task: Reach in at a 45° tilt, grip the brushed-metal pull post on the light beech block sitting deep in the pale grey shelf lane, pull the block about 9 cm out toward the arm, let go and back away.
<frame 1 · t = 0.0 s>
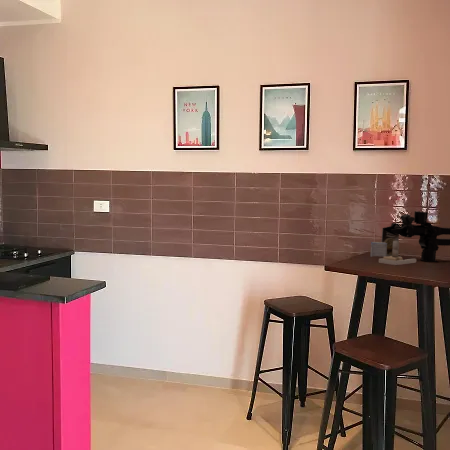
hand: (387, 229, 281), 17 cm above the table, tool horizontal, fingers open, 9 cm apart
handle block: (393, 252, 264), point 7 cm above the table, slide at 0.0 cm
shelf lane: (397, 265, 267), on the table
medicine box: (378, 258, 291), on the table
coffee box: (388, 256, 300), on the table
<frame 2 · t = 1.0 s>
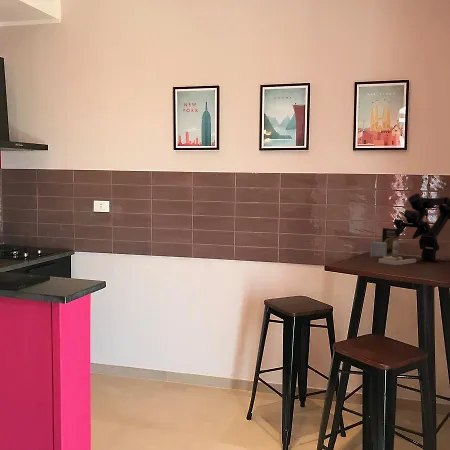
hand: (404, 237, 270), 14 cm above the table, tool tilted 45°, fingers open, 9 cm apart
nothing on the table moved.
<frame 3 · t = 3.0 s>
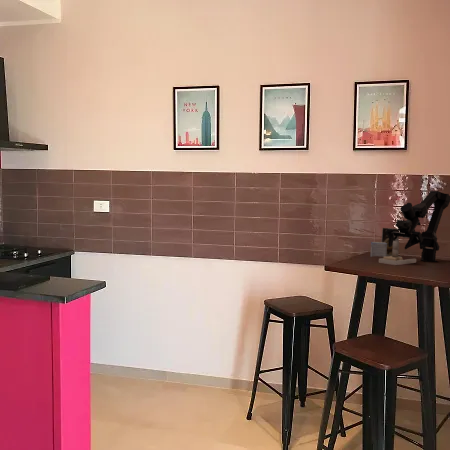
hand: (396, 247, 265), 9 cm above the table, tool tilted 45°, fingers open, 9 cm apart
nothing on the table moved.
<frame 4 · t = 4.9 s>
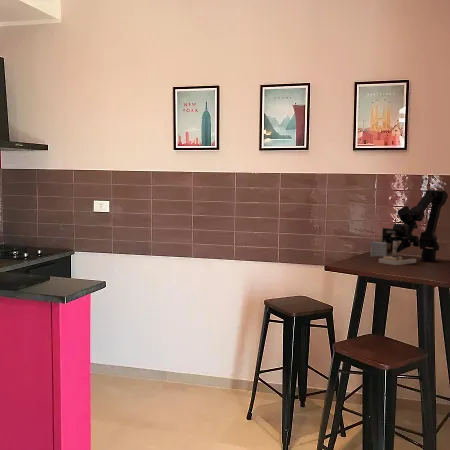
hand: (393, 251, 264), 7 cm above the table, tool tilted 45°, fingers closed on handle block, 3 cm apart
handle block: (393, 252, 264), point 7 cm above the table, slide at 0.0 cm, touching gripper
everything else where it was.
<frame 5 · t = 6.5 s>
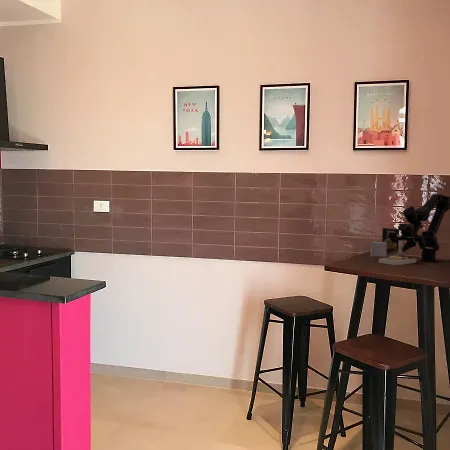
hand: (399, 251, 267), 7 cm above the table, tool tilted 45°, fingers closed on handle block, 3 cm apart
handle block: (398, 251, 267), point 7 cm above the table, slide at 5.1 cm, touching gripper
everything else where it was.
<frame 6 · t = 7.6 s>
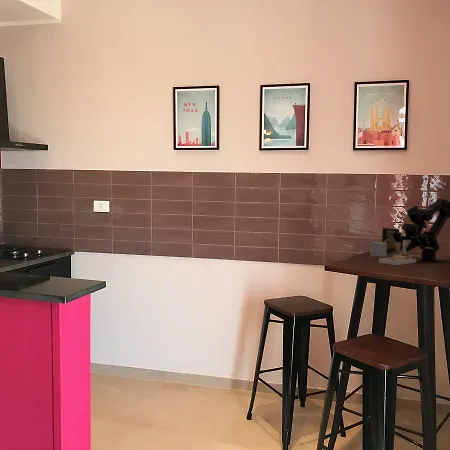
hand: (403, 250, 270), 7 cm above the table, tool tilted 45°, fingers closed on handle block, 3 cm apart
handle block: (403, 251, 269), point 7 cm above the table, slide at 9.0 cm, touching gripper
everything else where it was.
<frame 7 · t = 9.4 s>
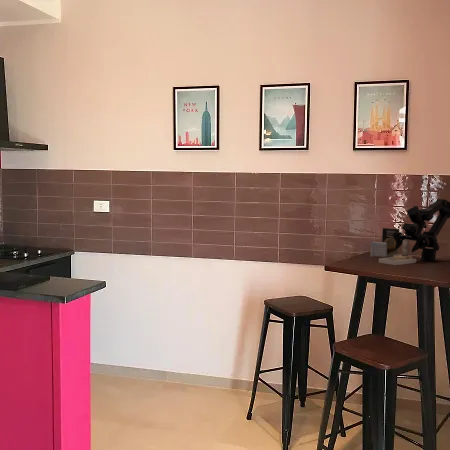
hand: (403, 250, 270), 7 cm above the table, tool tilted 45°, fingers open, 9 cm apart
handle block: (403, 251, 269), point 7 cm above the table, slide at 9.0 cm
everything else where it was.
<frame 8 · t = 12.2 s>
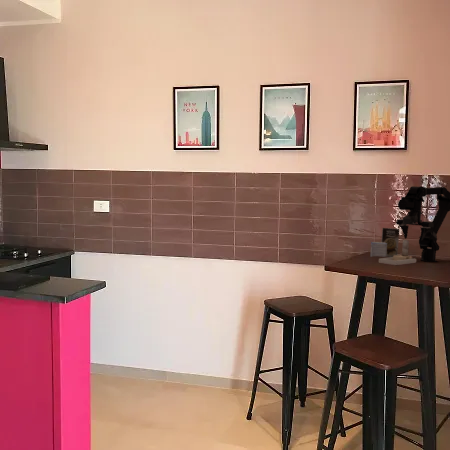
hand: (413, 239, 280), 12 cm above the table, tool pointing down, fingers open, 9 cm apart
nothing on the table moved.
at the end: handle block slide at 9.0 cm; the gripper is holding nothing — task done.
